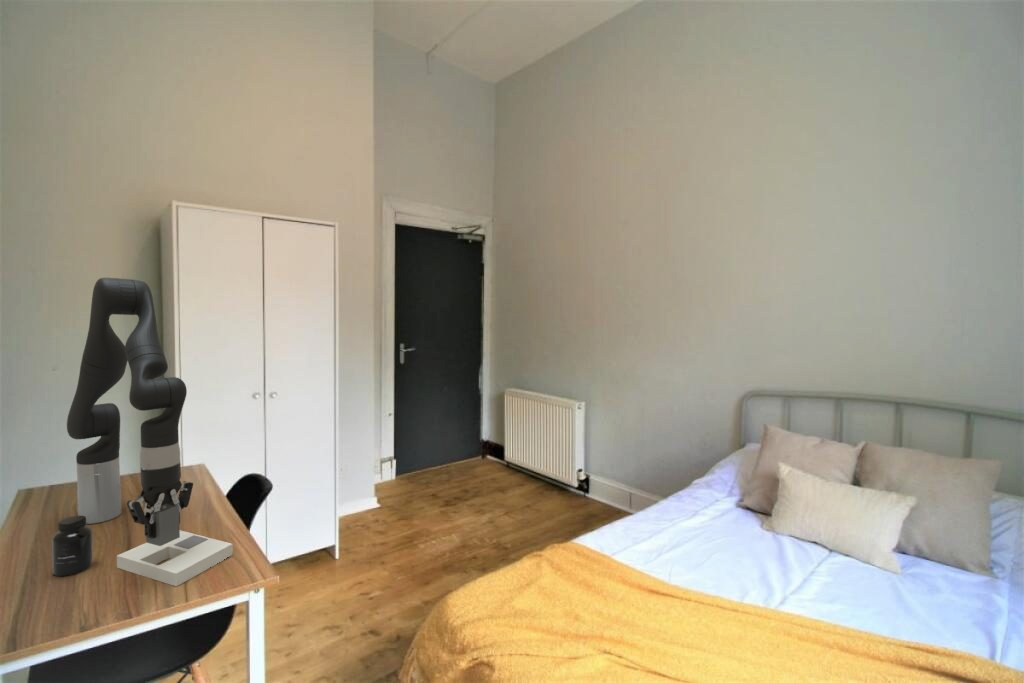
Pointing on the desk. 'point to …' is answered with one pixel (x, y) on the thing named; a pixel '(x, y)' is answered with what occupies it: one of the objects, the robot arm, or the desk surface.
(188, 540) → the outlet plate
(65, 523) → the supplement bottle
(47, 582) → the desk surface
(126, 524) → the desk surface
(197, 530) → the desk surface
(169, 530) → the charger
